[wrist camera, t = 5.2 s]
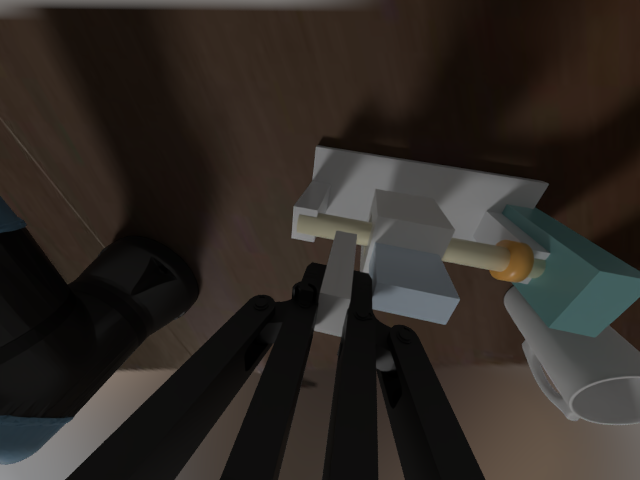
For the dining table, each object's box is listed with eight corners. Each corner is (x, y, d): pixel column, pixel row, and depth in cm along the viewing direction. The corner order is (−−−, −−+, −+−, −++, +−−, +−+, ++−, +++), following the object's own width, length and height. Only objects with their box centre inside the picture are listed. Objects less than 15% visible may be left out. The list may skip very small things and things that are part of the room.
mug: (515, 270, 28) (602, 368, 17) (580, 279, 27) (711, 387, 17) (481, 329, 33) (533, 431, 22) (535, 338, 32) (615, 448, 22)
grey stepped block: (361, 246, 24) (357, 329, 15) (375, 188, 21) (380, 250, 12) (411, 255, 24) (437, 347, 15) (433, 198, 20) (483, 270, 12)
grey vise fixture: (308, 229, 30) (277, 294, 20) (317, 145, 25) (282, 173, 14) (496, 265, 28) (571, 359, 18) (548, 181, 23) (696, 245, 12)
